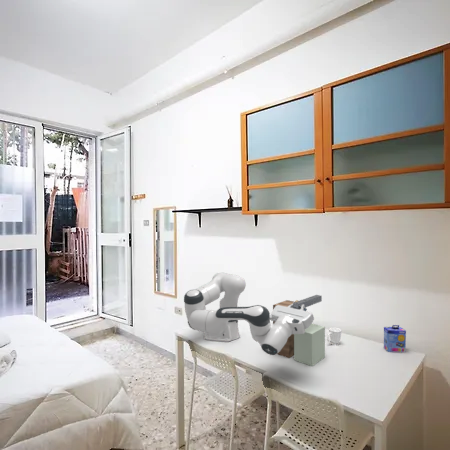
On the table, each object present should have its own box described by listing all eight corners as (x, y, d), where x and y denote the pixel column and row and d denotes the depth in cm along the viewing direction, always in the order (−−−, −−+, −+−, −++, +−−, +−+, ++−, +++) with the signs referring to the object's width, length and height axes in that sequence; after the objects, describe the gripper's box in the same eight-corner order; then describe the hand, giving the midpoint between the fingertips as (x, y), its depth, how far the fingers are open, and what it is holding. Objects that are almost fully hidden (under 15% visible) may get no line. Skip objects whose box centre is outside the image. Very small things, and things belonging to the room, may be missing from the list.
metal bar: (298, 310, 144) (298, 304, 144) (292, 309, 146) (293, 302, 146) (321, 301, 162) (321, 295, 162) (316, 300, 164) (316, 294, 164)
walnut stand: (289, 358, 156) (288, 308, 156) (273, 352, 163) (273, 304, 163) (302, 349, 166) (302, 303, 166) (287, 344, 173) (287, 300, 173)
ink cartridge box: (387, 352, 163) (387, 325, 163) (383, 348, 169) (383, 322, 169) (406, 352, 163) (406, 326, 163) (401, 348, 168) (401, 322, 168)
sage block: (312, 366, 147) (312, 333, 147) (294, 360, 154) (294, 328, 154) (324, 357, 157) (324, 326, 157) (307, 351, 164) (307, 322, 164)
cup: (344, 344, 174) (344, 330, 174) (332, 347, 169) (332, 333, 169) (334, 340, 181) (334, 326, 180) (322, 343, 175) (322, 329, 175)
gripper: (269, 324, 148) (283, 305, 156) (307, 334, 133) (319, 313, 142) (265, 314, 145) (279, 296, 154) (303, 324, 131) (316, 303, 140)
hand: (299, 304), depth 148 cm, fingers closed on metal bar, 3 cm apart
